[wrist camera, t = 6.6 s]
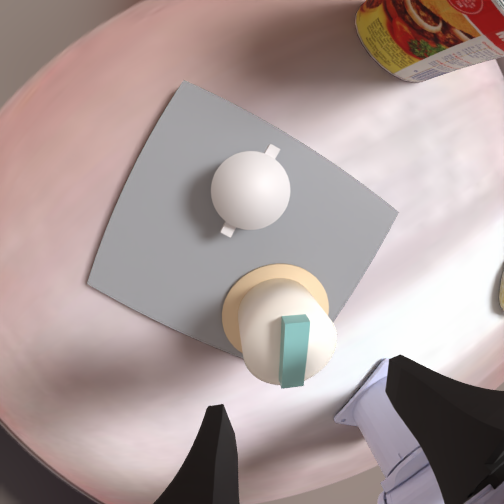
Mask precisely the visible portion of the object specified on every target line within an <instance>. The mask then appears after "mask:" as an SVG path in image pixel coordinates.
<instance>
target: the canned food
mask: <svg viewBox="0 0 504 504" xmlns="http://www.w3.org/2000/svg"><path fill="white" fill-rule="evenodd" d="M355 26H356V30H357V34H358V36H359V38H360V40H361V42H362V45H363V46H364V47H365V49H366V50H367V52H368V53H369V54H370V56H371V57H372V58H373V59H374V60H375V61H376V62H377V63H378V64H379V65H380V66H381V67H382V68H384V69H385V70H386V71H388V72H389V73H390V74H392V75H394V76H396V77H398V78H400V79H402V80H405V81H409V82H423V81H426V80H429V79H431V78H434V77H437V76H440V75H443V74H446V73H449V72H452V71H455V70H458V69H461V68H465V67H468V66H471V65H475V64H478V63H482V62H485V61H489V60H493V59H496V58H500V57H504V0H366V1H365V2H364V3H363V4H362V5H361V6H360V7H359V9H358V11H357V13H356V17H355Z"/></svg>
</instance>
